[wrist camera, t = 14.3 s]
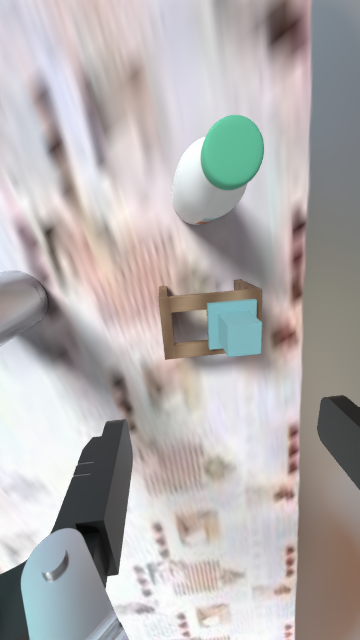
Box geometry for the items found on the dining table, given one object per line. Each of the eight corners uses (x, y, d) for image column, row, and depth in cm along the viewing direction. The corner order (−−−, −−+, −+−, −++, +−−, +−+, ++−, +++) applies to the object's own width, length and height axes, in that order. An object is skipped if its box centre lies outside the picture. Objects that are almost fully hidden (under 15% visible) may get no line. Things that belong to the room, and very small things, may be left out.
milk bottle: (174, 227, 37) (187, 215, 18) (167, 171, 35) (175, 89, 16) (222, 222, 37) (285, 203, 19) (219, 165, 35) (289, 78, 16)
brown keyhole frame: (164, 335, 43) (165, 359, 34) (159, 286, 40) (158, 299, 31) (240, 328, 43) (259, 349, 35) (241, 279, 41) (262, 289, 32)
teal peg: (203, 336, 38) (217, 367, 29) (202, 296, 36) (216, 316, 27) (244, 332, 38) (270, 362, 29) (244, 292, 36) (273, 310, 27)
